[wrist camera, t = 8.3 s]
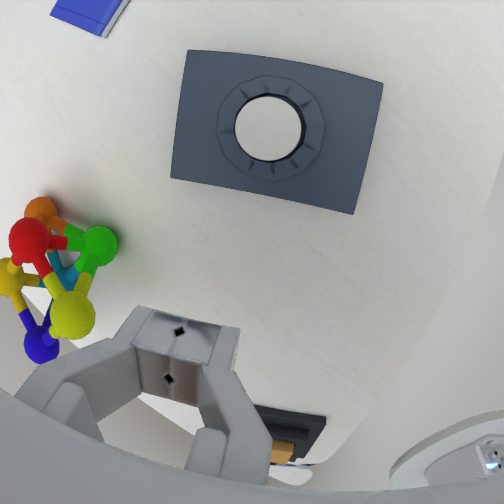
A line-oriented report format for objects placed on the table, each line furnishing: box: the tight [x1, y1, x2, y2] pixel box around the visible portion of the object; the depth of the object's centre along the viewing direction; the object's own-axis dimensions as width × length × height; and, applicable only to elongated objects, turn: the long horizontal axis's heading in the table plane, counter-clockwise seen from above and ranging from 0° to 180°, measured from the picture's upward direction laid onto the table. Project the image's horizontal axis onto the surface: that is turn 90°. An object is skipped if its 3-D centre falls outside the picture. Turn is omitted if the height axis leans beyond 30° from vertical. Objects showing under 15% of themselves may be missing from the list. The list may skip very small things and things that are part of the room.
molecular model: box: [0, 197, 118, 364], centre depth 24 cm, size 15×12×15 cm
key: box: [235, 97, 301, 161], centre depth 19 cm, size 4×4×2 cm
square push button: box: [254, 405, 326, 462], centre depth 36 cm, size 10×10×3 cm
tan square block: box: [270, 440, 294, 464], centre depth 35 cm, size 4×4×2 cm
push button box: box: [170, 50, 383, 215], centre depth 21 cm, size 14×10×4 cm
